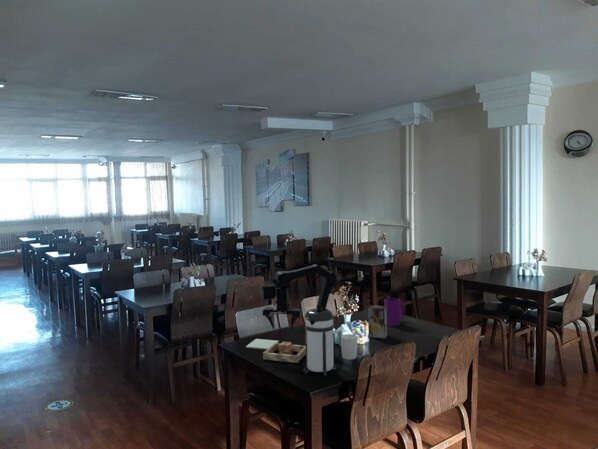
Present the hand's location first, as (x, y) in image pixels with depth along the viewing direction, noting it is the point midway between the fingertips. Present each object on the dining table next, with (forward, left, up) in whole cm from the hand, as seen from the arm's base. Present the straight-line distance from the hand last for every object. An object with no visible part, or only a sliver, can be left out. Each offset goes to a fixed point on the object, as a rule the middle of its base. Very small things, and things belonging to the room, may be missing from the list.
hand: (282, 329), depth 230 cm
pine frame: (-2, +2, -12) cm, 12 cm away
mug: (-46, -67, -12) cm, 83 cm away
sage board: (+15, -10, -12) cm, 22 cm away
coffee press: (-23, +15, -12) cm, 30 cm away
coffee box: (-40, -40, -12) cm, 58 cm away
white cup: (-32, -4, -12) cm, 34 cm away
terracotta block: (-2, +2, -12) cm, 12 cm away
